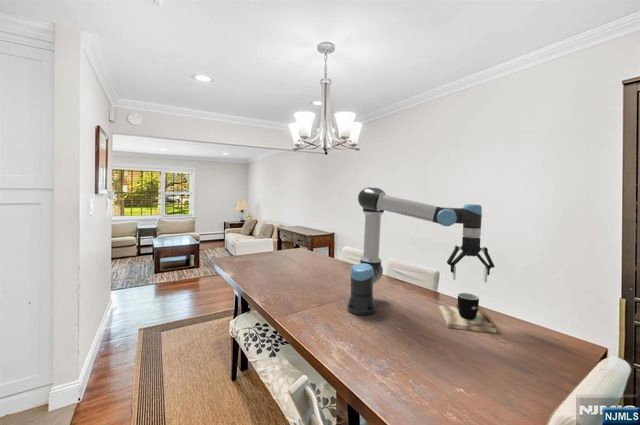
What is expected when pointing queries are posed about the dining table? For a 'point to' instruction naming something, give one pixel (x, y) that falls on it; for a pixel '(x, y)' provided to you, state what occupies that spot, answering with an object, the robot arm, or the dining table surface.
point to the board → (467, 320)
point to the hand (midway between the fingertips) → (469, 280)
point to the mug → (468, 305)
